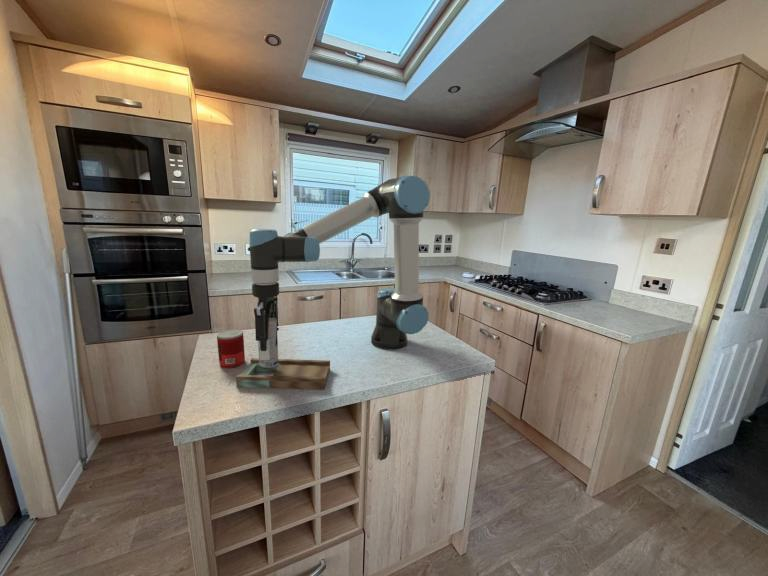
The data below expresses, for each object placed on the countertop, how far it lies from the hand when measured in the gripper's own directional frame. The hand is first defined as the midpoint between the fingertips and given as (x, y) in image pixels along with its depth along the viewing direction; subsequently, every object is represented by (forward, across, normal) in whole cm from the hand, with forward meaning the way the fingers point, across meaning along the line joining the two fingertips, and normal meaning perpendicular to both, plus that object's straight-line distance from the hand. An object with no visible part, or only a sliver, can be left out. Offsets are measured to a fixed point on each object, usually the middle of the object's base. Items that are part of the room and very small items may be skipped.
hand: (268, 354), depth 96 cm
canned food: (+8, -9, -16) cm, 20 cm away
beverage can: (+4, 0, 0) cm, 4 cm away
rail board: (+8, 0, +5) cm, 9 cm away
